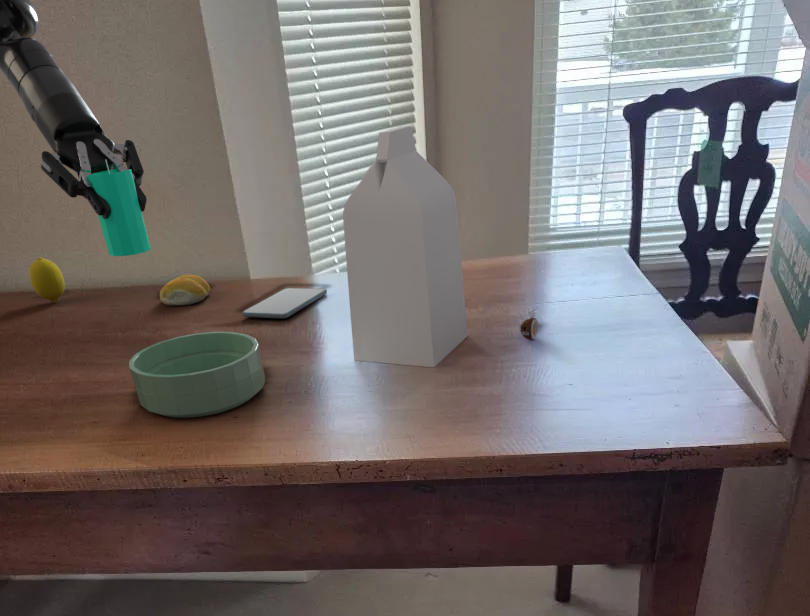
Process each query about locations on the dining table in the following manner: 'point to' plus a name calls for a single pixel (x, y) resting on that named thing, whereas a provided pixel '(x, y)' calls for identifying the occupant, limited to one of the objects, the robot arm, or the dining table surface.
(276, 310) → the smartphone
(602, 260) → the dining table surface
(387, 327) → the milk
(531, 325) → the chocolate
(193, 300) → the bread roll
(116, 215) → the candle
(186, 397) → the bowl
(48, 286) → the lemon
